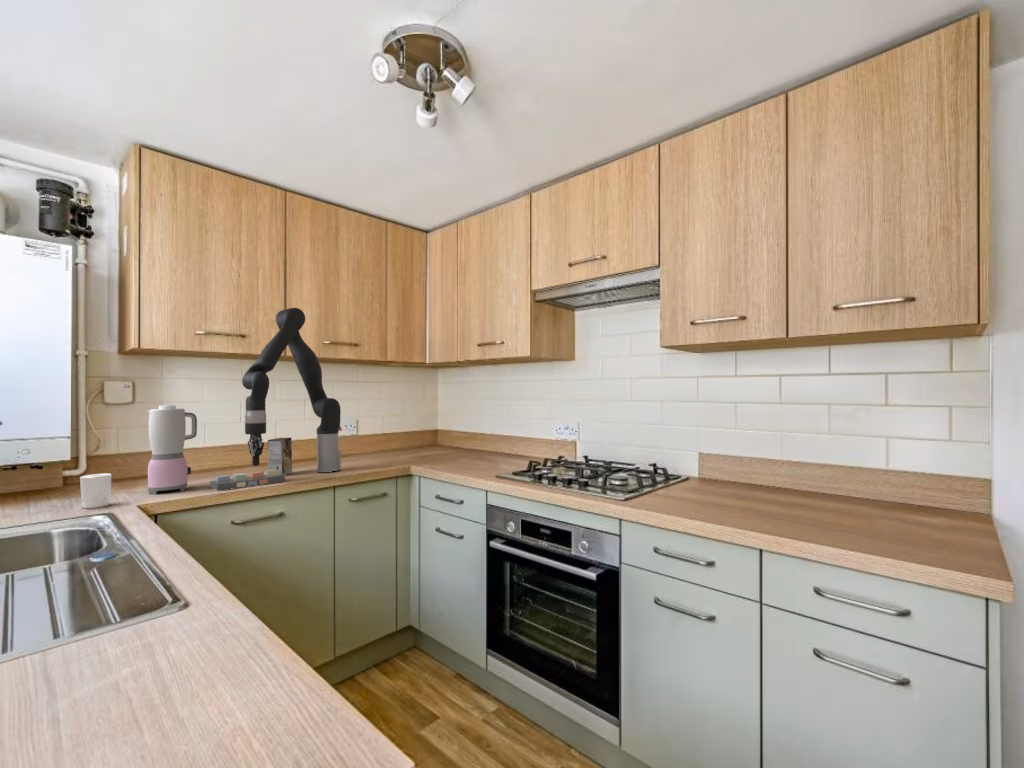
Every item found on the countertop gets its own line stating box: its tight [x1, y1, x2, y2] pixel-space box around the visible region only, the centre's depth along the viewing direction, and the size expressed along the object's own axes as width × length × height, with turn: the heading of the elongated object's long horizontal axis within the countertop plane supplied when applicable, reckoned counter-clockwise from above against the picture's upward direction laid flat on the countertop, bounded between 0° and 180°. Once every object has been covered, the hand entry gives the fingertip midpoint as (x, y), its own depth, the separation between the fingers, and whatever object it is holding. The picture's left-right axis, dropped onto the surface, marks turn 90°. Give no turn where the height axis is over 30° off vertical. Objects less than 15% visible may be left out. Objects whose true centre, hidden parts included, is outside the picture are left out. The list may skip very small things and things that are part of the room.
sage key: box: [232, 472, 248, 481], centre depth 191 cm, size 4×4×3 cm
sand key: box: [265, 469, 279, 477], centre depth 200 cm, size 4×4×3 cm
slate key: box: [214, 474, 231, 483], centre depth 187 cm, size 4×4×3 cm
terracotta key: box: [249, 470, 264, 479], centre depth 196 cm, size 4×4×3 cm
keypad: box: [209, 473, 286, 492], centre depth 193 cm, size 24×10×2 cm, turn 134°
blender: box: [146, 404, 198, 495], centre depth 185 cm, size 16×12×32 cm
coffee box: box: [267, 437, 293, 476], centre depth 216 cm, size 9×6×16 cm
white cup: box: [79, 472, 112, 509], centre depth 160 cm, size 8×8×10 cm
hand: (255, 465), depth 196 cm, fingers closed
